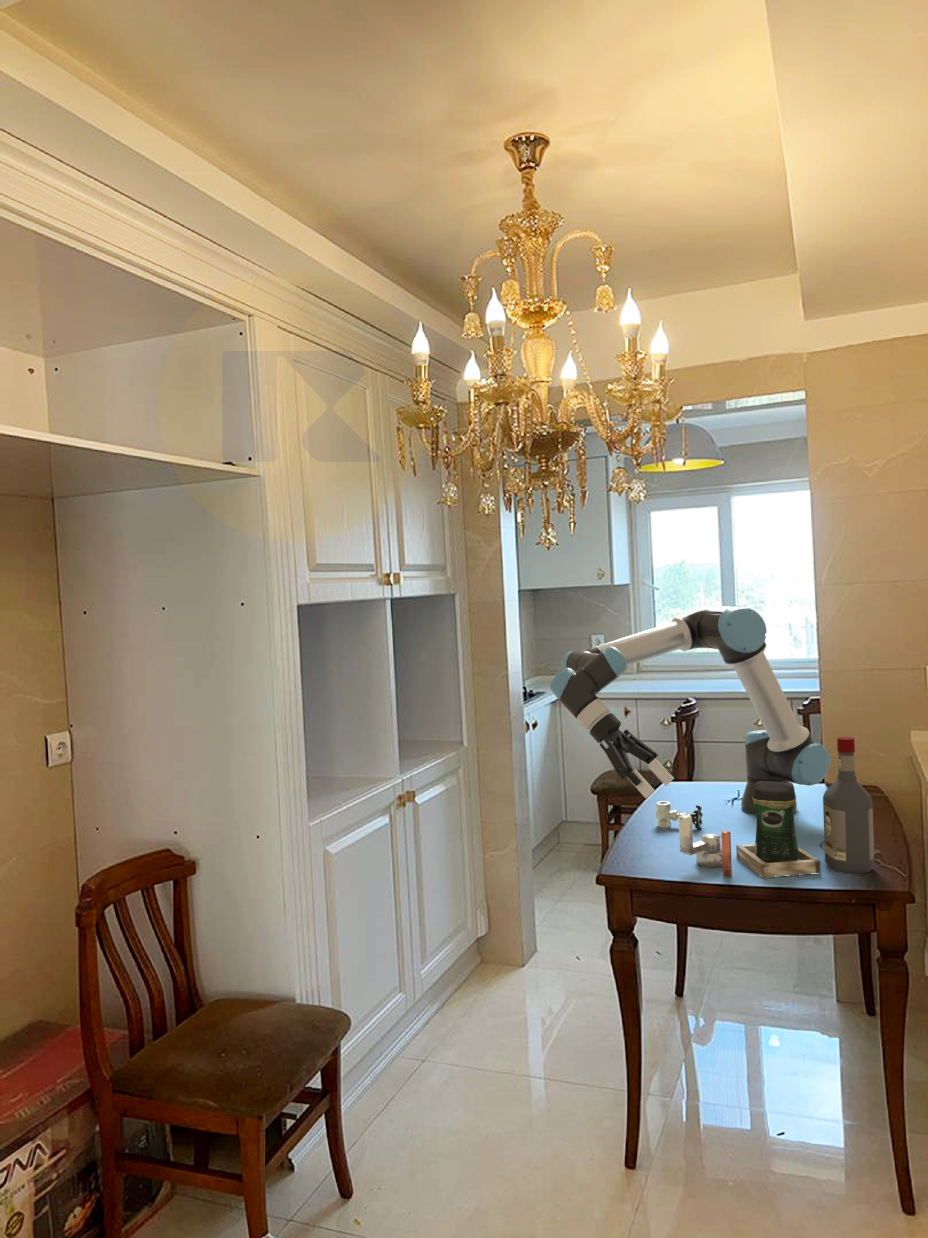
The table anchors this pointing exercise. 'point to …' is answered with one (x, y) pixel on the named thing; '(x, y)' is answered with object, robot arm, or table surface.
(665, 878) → the table surface
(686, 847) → the crank
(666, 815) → the valve
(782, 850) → the coffee jar
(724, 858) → the crank base
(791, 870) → the tray
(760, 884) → the table surface
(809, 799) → the table surface
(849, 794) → the liquor
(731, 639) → the robot arm
